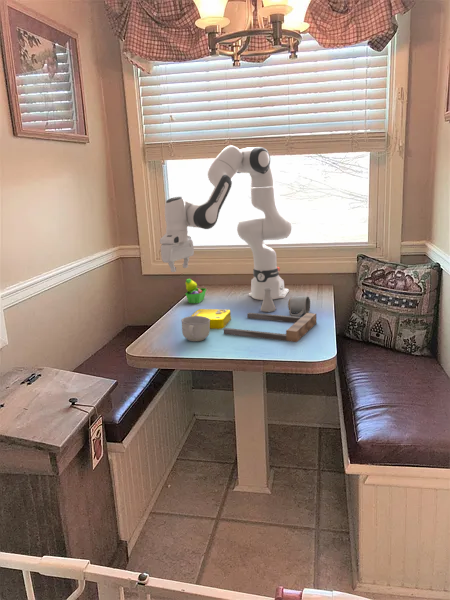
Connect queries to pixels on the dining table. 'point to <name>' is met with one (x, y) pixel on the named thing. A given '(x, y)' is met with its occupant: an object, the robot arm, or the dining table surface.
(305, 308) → the ceramic mug
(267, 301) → the flask
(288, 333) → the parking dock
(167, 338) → the dining table surface
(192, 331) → the teacup
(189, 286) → the fruit basket
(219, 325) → the element tile
